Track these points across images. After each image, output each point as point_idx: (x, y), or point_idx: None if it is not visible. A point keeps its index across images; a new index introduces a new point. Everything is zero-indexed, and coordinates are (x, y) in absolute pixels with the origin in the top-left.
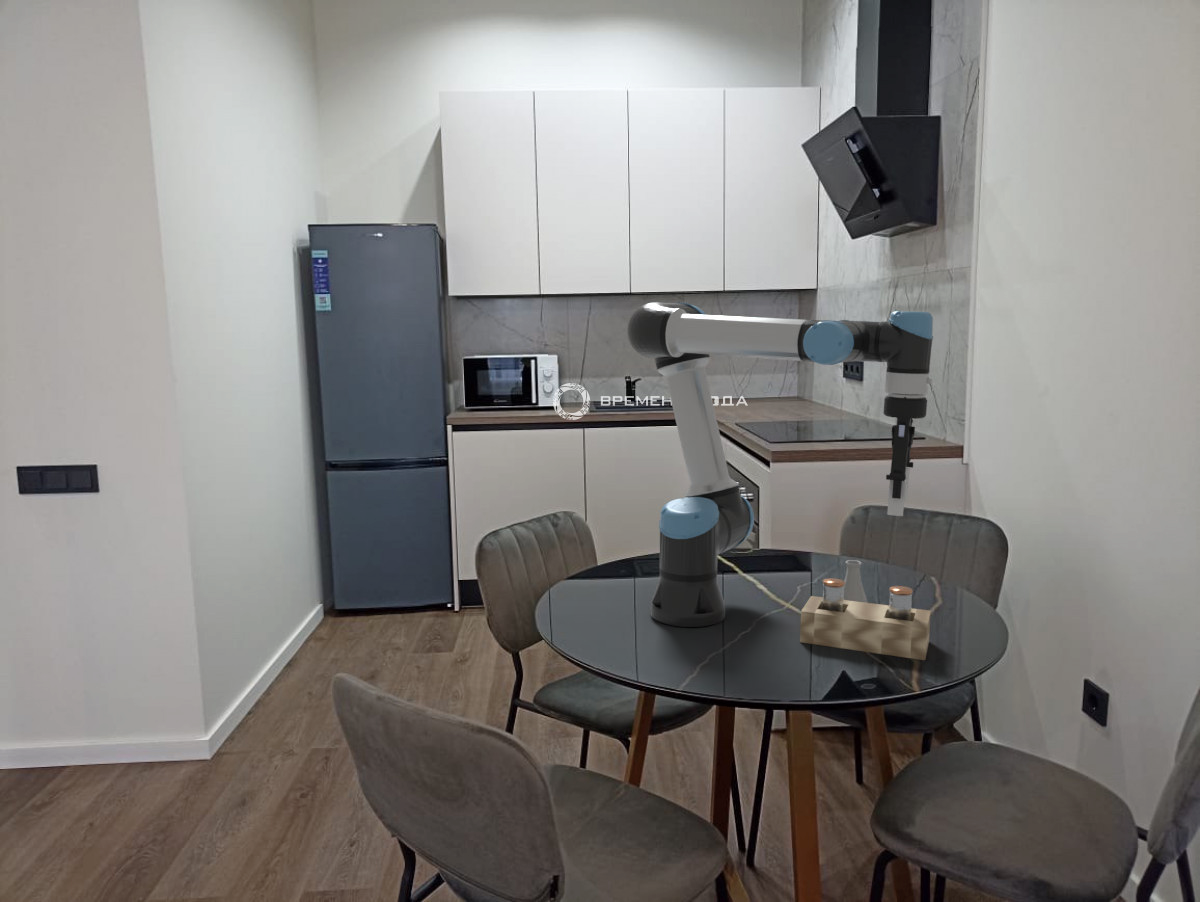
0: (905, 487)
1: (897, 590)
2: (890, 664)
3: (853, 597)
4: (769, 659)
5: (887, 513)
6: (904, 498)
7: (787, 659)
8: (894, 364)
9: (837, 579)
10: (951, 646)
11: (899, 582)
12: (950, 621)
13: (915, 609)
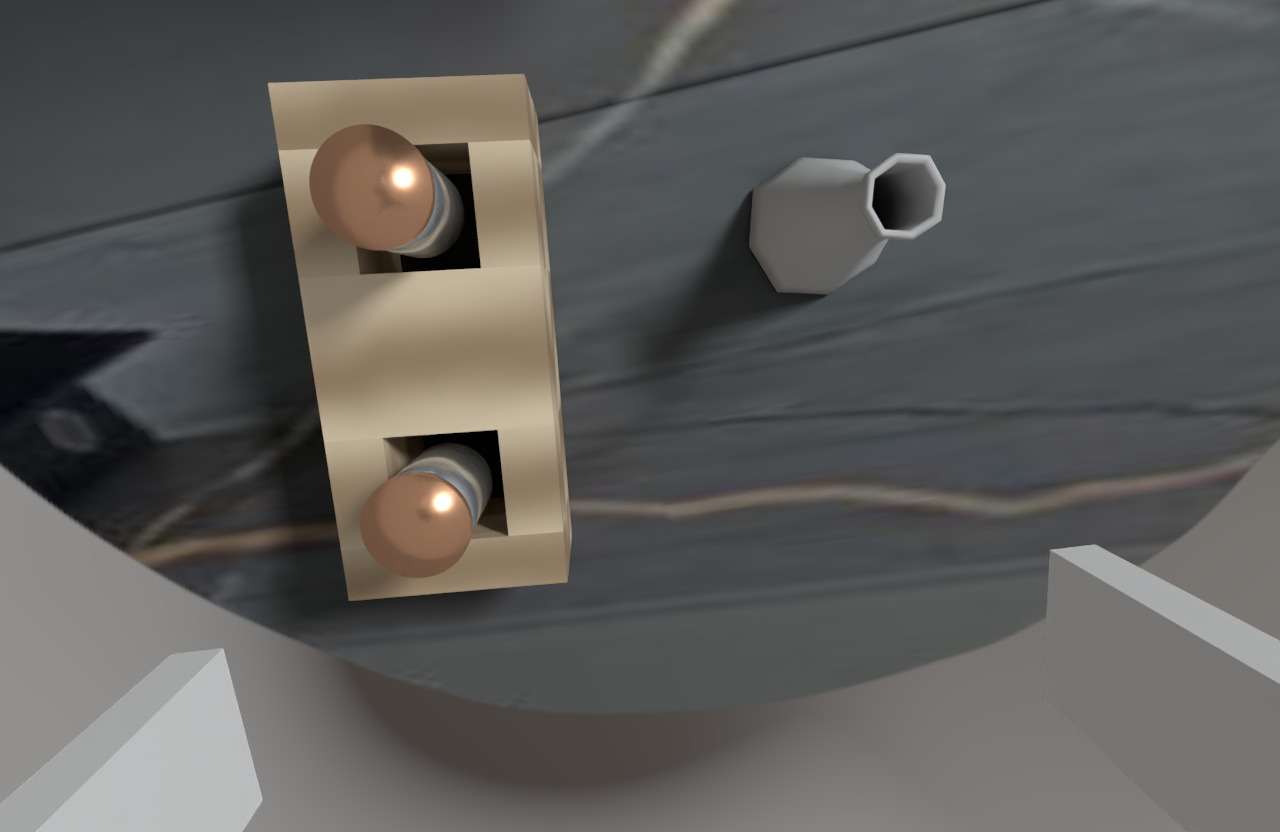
0: (1200, 812)
1: (386, 516)
2: (295, 460)
3: (783, 235)
4: (90, 59)
5: (163, 664)
6: (1070, 695)
7: (131, 125)
8: None
9: (420, 198)
10: (562, 600)
11: (1204, 340)
12: (807, 567)
13: (553, 529)
